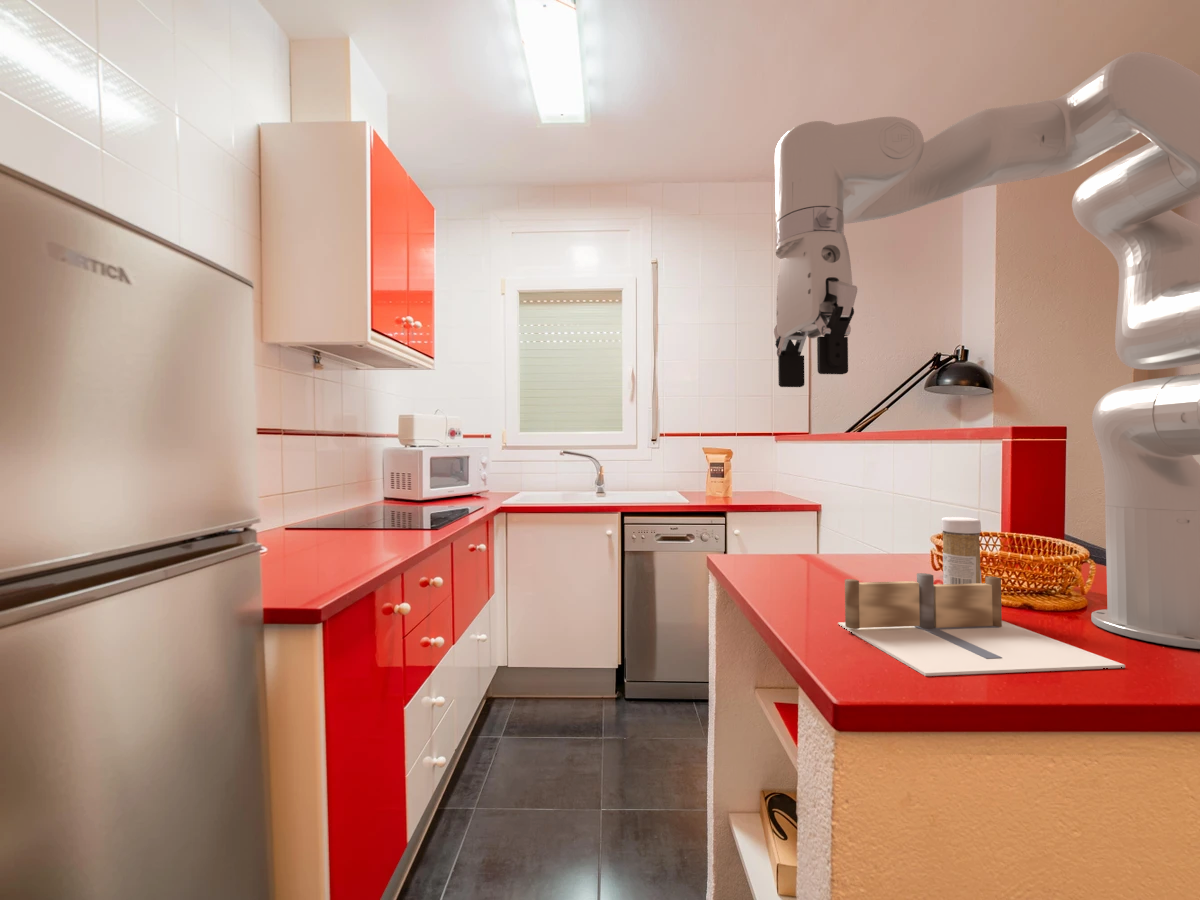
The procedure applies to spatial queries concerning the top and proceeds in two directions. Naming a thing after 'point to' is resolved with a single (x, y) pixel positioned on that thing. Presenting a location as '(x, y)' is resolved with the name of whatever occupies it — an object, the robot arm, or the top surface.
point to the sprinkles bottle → (961, 550)
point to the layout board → (979, 650)
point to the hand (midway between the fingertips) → (810, 380)
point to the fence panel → (881, 604)
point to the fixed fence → (959, 603)
